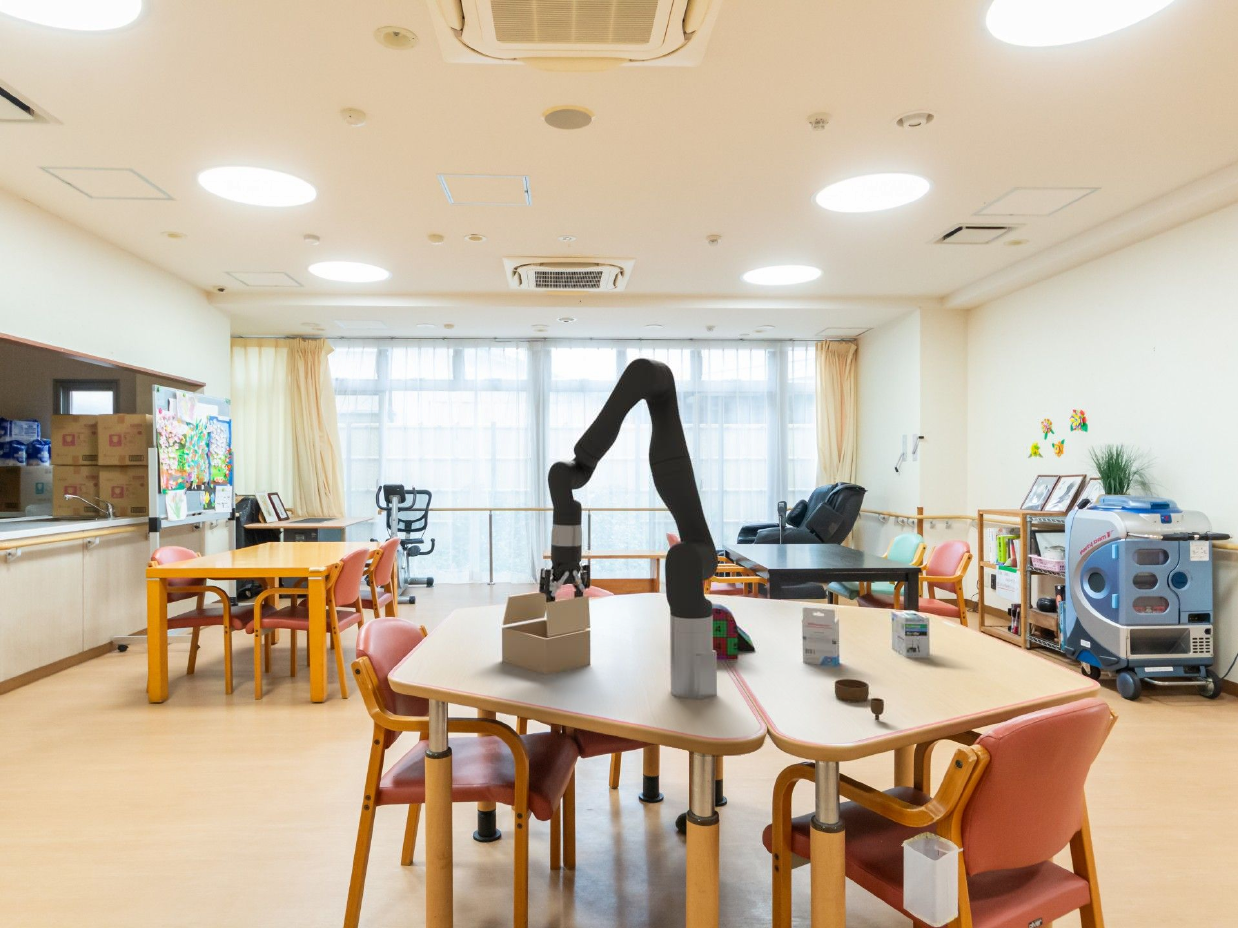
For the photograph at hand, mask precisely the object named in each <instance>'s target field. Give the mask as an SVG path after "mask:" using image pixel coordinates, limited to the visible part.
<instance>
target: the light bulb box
mask: <svg viewBox="0 0 1238 928" xmlns="http://www.w3.org/2000/svg"><path fill="white" fill-rule="evenodd" d="M890 612H891V649H892V650H893V651H895V652H897V653H898V654H900V655H901V656H902V657H904V658H905V659H907V658H908V659H909V658H910V659H911V658H912V659H917V658H918V659H929V658H931V657H930V656H931V654H930V652H931V651H930V650H931V649H930V618H929V617H928V616H926V615H923V614H921V613H920V612H917V611H916V610H901V609H900V610H897V609H892V610H891V611H890Z"/></svg>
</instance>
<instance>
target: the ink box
mask: <svg viewBox="0 0 1238 928" xmlns="http://www.w3.org/2000/svg"><path fill="white" fill-rule="evenodd" d="M816 613H820V614H823V615H819V614H818V615H817V614H816ZM839 620H840V619H839V618H836V611H835V609H829V608H818V607H803V608H802V620H801V623H802V625H801V628H802V629H801V630H802V663H804V664H805V663H806V664H811V665H812V664H814V665H820V666H830V667H838V665H839V664H840V621H839Z"/></svg>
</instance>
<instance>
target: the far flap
mask: <svg viewBox="0 0 1238 928" xmlns="http://www.w3.org/2000/svg"><path fill="white" fill-rule="evenodd" d="M505 606H506V607H505V611H504V616H503V621H502V625H503V626H507V625H512V624H519V623H523V622H528V621H533V620H540V619H544V618H546V595H545V594H543V593H540V592H539V591H532V592H527V593H520V594H513V595H508V596H507V602H506V605H505Z"/></svg>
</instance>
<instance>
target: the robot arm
mask: <svg viewBox="0 0 1238 928" xmlns="http://www.w3.org/2000/svg"><path fill="white" fill-rule="evenodd" d="M642 400H644V401H645V403H646V405H647V409H648V411H649V416H650V421H651V435H650V443H649V449H648V462H649V468H650V472H651V476H652V480H653V484H654V487H655V490H656V492H657V494H658V495H659V497H660V498H661V501H662V502H663V503H664V505H665V506H666V508H667V510H668V511H669V512H670V514H671V516H672V518H673V520H674V522H675V524H676V528H677V532H678V538H679V541H680V542H677V543H675V544H673V545H672V546H671V547H670V548H669V549H668V551H667V553H666V556H665V559H664V560H665V561H664V562H665V563H664V576H665V595H666V596H665V597H666V602H667V603H668V606H669V621H670V622H669V625H670V627H669V629H670V630H669V637H670V638H669V639H670V640H669V641H670V643H669V649H670V652H669V655H670V658H669V659H670V660H669V661H670V663H669V665H670V668H669V669H670V670H669V671H670V672H669V673H670V674H669V675H670V694H671V695H673V696H674V697H677V698H681V699H686V700H687V699H689V700H697V701H701V700H704V699H707V698H710V697H714V696H717V694H718V690H717V689H718V679H717V678H718V675H717V674H718V671H717V667H718V666H717V665H718V664H717V663H718V659H717V652H716V651H715V650H713V606H712V604H713V602H712V601H711V600H710V599H708V598H706V596H705V591H704V581H708V580H710V579H711V578H713V577H714V576H715V574H716V572H717V571H718V567H719V557H718V552H717V548H716V545H715V542H714V540H713V536H712V534H711V532H710V528H709V526H708V523H707V519H706V517H705V514H704V513H705V512H704V510H703V506H702V500H701V497H700V493H699V490H698V486H697V482H696V477H695V473H694V468H693V463H692V459H691V455H690V452H689V449H688V445H687V441H686V436H685V431H684V427H683V424H682V421H681V416H680V410H679V402H678V394H677V388H676V381H675V376H674V374H673V370H672V369H671V368H670V366H669V365H668V364H667V363H664V362H663V361H659V360H655V359H652V358H646V357H639V358H636V359H634V360H632V361H631V362H629V364H628V365H627V366H626V367H625V369H624V371H623V372H622V373H621V375H620V377H619V378H618V381H617V383H616V384H615V386H614V388H613V389H612V391H611V394H610V395H609V397H608V398H607V400H606V402H605V404H604V406H603V407H602V408H601V410H600V412H599V413H598V414H597V416H596V418H595V419H594V420H593V422H592V423H591V424H590V425H589V427H588V428H587V430H585V432H584V433H583V434H582V435H581V437H580V438H579V439H578V440H577V441H576V443H575V445H574V446H573V454H574V458H572V460H559V461H556V462H554V463H553V464H552V465H551V467H550V468H549V470H548V475H547V485H548V490H549V495H550V500H551V503H552V508H553V509H552V529H551V537H550V539H551V540H550V542H551V543H550V544H551V545H550V562H551V563H552V564H551V567H550V568H545V567H541V569H540V576H539V587H538V592H540V593H543V594H545V595H546V602H552V601H556V594H557V592H558V590H560V589H561V587H562V586H566V585H568V584H569V585H572V587H573V588H574V591H573V593H574V595H573V598H576V597H582V596H584V591H585V590H587V589H590V587H591V566H590V564H588V563H581V562H582V553H583V552H582V551H583V550H582V549H583V529H582V524H583V523H582V518H583V517H582V516H583V514H582V513H583V509H582V508H583V506H582V503H581V502H580V501H579V500H577V499H575V498H574V493H573V490H575V491H576V490H579V489H582V488H583V487H584V486H586V485H587V483H589V481H590V480H591V478H592V476H593V474H594V472H595V470H596V469H597V465H598V463H599V462H600V461H601V460H602V458H604V456H605V455H606V454H607V453H608V451H610V449H611V447H613V445H614V444H615V442H616V440H617V438H618V437H619V434H620V432H621V427H622V426H623V422H624V420H625V419H626V417H627V415H628V413H629V412H630V411H631V410H632V409H633V408H634V407H635V406H636V405H637V404H638V403H639V402H640V401H642Z"/></svg>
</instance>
